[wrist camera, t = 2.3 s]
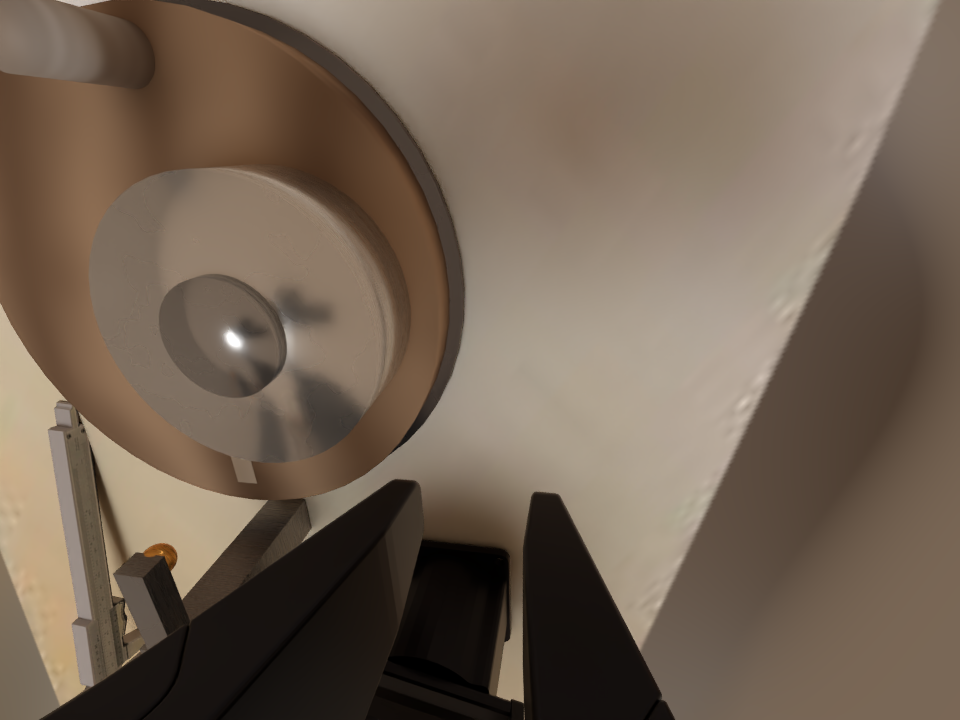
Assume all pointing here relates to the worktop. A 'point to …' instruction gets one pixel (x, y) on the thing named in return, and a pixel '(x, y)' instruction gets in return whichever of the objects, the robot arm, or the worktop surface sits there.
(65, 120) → the turntable
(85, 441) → the caliper
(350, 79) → the turntable stand
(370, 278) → the cover
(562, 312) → the worktop surface
